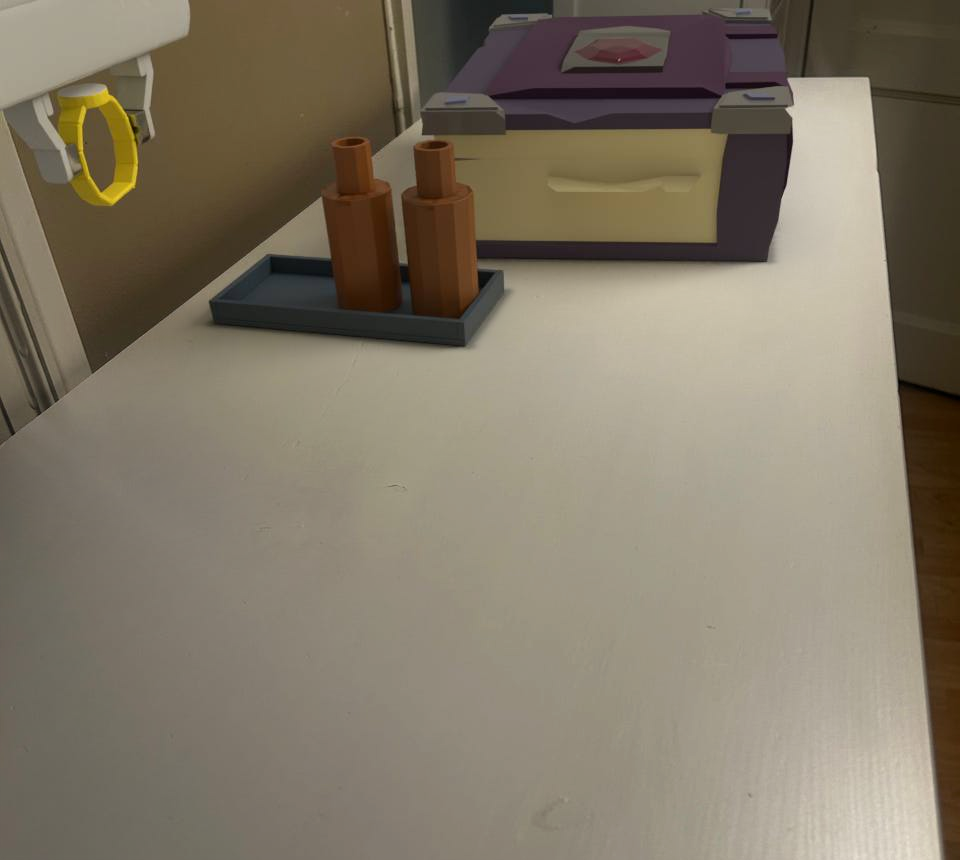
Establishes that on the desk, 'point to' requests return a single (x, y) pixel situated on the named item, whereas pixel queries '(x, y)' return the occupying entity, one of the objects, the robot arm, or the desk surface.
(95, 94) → the watch
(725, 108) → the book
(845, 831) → the desk surface
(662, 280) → the desk surface
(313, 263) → the tray
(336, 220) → the bottle mid
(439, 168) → the bottle far
